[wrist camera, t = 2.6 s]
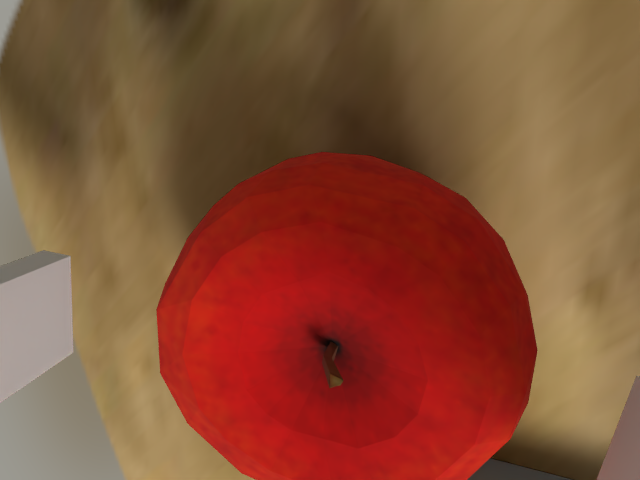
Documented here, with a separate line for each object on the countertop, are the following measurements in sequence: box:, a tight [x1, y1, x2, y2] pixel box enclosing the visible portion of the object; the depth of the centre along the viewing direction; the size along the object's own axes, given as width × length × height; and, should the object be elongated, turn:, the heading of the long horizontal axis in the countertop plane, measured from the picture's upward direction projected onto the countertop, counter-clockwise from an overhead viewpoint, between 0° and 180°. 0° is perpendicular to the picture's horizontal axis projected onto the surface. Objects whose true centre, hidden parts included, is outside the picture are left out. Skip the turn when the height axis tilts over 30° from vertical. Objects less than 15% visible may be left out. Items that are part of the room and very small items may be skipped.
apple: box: [157, 152, 537, 480], centre depth 13 cm, size 9×9×8 cm
